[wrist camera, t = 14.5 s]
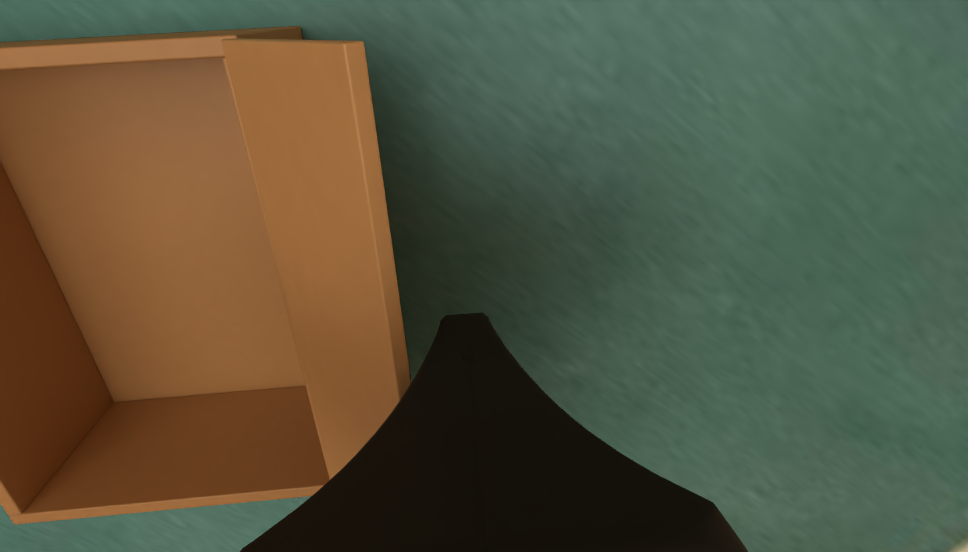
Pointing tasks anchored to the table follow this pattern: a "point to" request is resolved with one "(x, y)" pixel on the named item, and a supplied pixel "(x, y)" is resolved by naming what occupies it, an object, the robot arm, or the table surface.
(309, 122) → the flap
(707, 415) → the table surface
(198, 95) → the carton
